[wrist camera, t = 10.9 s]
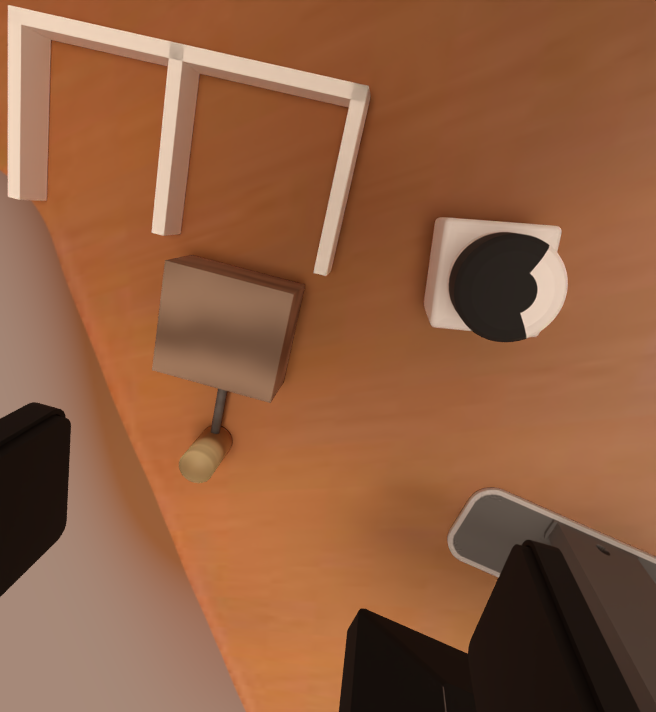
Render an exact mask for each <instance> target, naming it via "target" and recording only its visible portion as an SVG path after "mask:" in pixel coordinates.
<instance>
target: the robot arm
mask: <svg viewBox="0 0 656 712" xmlns="http://www.w3.org/2000/svg"><path fill="white" fill-rule="evenodd" d="M70 433H71V423H70V421H69V419H67V418H65V414H64V411H62V410H61V409H57V408H54V407H50V406H47V405H43V404H40V403H30V404H27V405H25V406H23V407H22V408H20V409H18V410H16V411H14V412H12V413H10V414H8V415H7V416H5V417H3V418H1V419H0V596H2V595H3V594H4V593H5V592H6V591H7V590H8V589H9V587H10V586H12V585H13V584H14V583H15V582H16V581H17V580H18V579H19V578H20V576H22V575H23V574H24V573H25V572H26V571H27V570H28V569H29V568H30V567H31V566H32V565H33V564H34V563H35V562H36V561H37V560H38V559H39V558H40V557H41V556H42V555H43V554H44V553H45V552H46V551H47V550H48V549H49V548H50V547H51V546H52V545H53V544H54V543H55V542H56V541H57V540H58V539H59V538H60V536H61V535H62V533H63V531H64V529H65V526H66V521H67V498H68V477H69V455H70ZM468 663H469V669H470V675H471V681H472V687H473V693H474V699H475V705H476V711H477V712H640V710H639V708H638V706H637V704H636V702H635V700H634V698H633V696H632V694H631V692H630V690H629V688H628V686H627V683H626V681H625V679H624V677H623V675H622V673H621V671H620V669H619V667H618V665H617V663H616V661H615V659H614V657H613V655H612V653H611V651H610V649H609V647H608V645H607V643H606V641H605V639H604V637H603V635H602V633H601V631H600V629H599V627H598V625H597V623H596V621H595V619H594V617H593V615H592V613H591V611H590V609H589V606H588V604H587V602H586V600H585V598H584V596H583V594H582V592H581V590H580V588H579V586H578V584H577V582H576V580H575V578H574V576H573V574H572V572H571V570H570V568H569V566H568V564H567V562H566V560H565V558H564V556H563V554H562V552H561V551H560V549H559V548H557V547H554V546H551V545H547V544H543V543H540V542H536V541H533V540H525V541H524V542H523V544H522V545H519V544H515V545H514V546H513V548H512V549H511V551H510V554H509V556H508V558H507V560H506V562H505V565H504V567H503V569H502V571H501V574H500V576H499V578H498V580H497V583H496V585H495V587H494V589H493V591H492V594H491V596H490V598H489V600H488V603H487V605H486V607H485V609H484V611H483V614H482V616H481V618H480V620H479V623H478V625H477V627H476V629H475V631H474V634H473V636H472V638H471V641H470V644H469V650H468Z"/></svg>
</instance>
